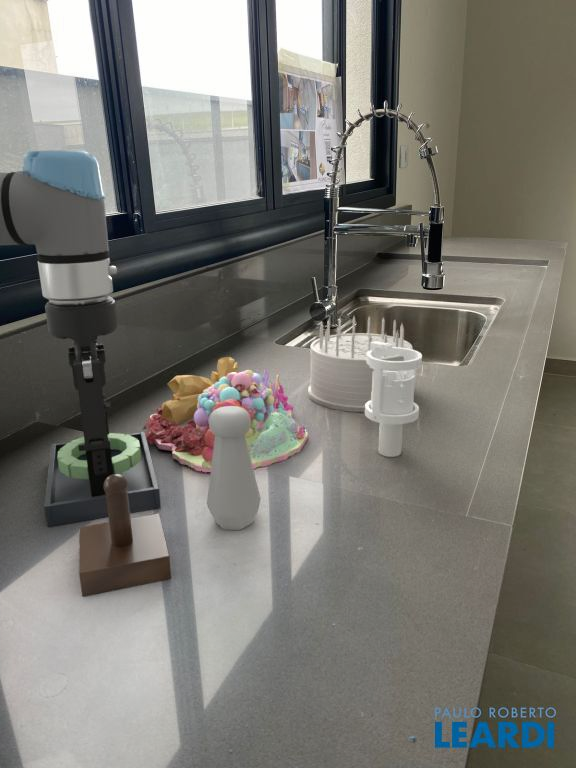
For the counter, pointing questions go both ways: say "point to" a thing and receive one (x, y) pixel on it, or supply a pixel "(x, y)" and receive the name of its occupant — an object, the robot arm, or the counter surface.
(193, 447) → the multicoloured round lumpy mound
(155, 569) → the stand
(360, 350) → the cake
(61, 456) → the ring
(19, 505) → the counter surface
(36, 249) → the robot arm
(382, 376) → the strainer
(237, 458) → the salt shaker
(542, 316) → the counter surface
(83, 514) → the tray
